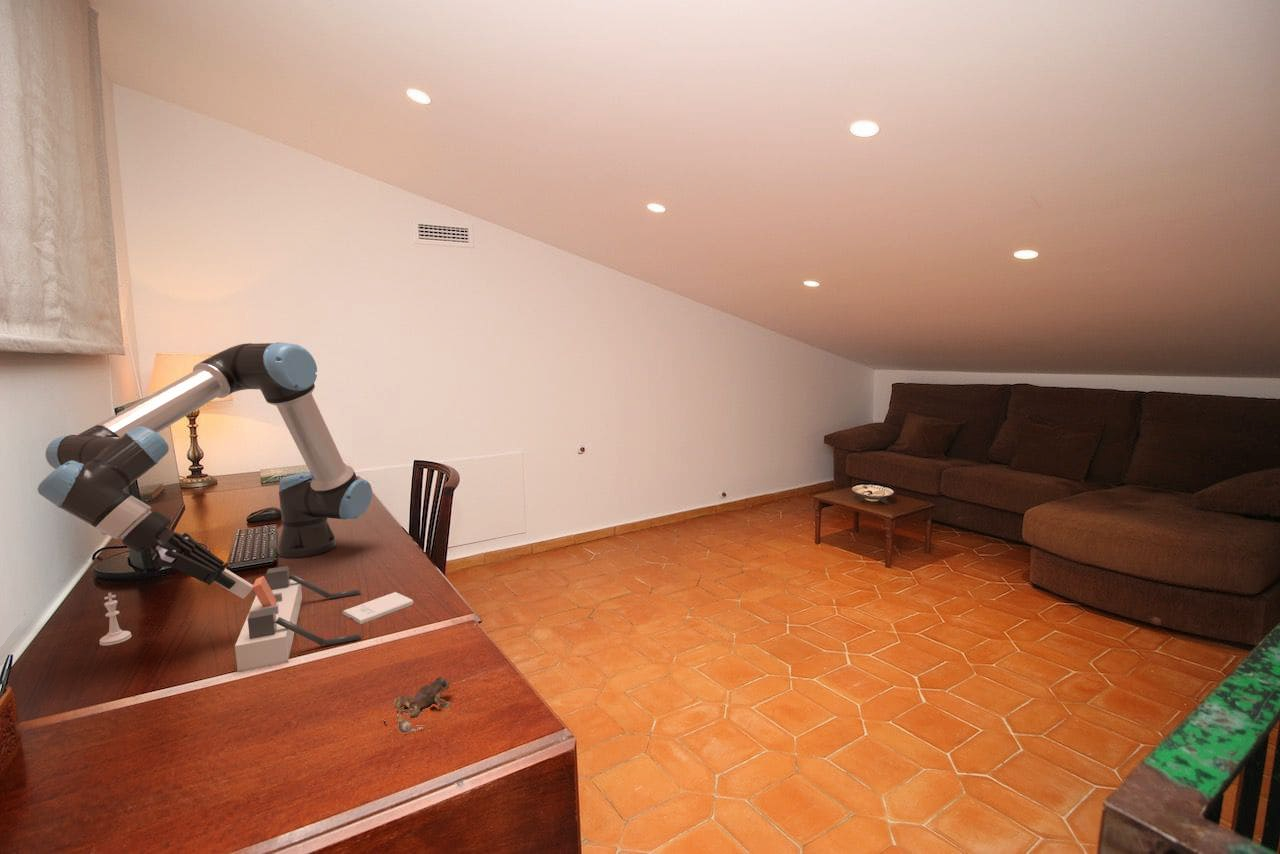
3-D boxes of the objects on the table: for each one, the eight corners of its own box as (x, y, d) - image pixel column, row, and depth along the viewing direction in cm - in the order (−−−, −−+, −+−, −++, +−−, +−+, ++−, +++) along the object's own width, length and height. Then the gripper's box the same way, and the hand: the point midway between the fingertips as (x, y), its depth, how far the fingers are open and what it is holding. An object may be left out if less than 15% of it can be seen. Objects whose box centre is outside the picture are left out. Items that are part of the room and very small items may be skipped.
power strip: (237, 671, 107) (232, 625, 105) (262, 604, 135) (259, 567, 134) (361, 646, 115) (358, 603, 114) (360, 588, 144) (358, 553, 143)
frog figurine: (432, 682, 103) (431, 662, 103) (471, 708, 96) (471, 687, 95) (368, 713, 95) (367, 691, 94) (406, 744, 87) (404, 720, 87)
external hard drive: (413, 606, 135) (360, 626, 125) (395, 597, 140) (342, 616, 130) (413, 600, 135) (360, 619, 125) (394, 591, 140) (342, 609, 130)
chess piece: (98, 640, 119) (91, 593, 118) (129, 631, 122) (124, 586, 121) (100, 648, 116) (94, 600, 114) (133, 639, 119) (127, 592, 118)
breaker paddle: (265, 612, 119) (252, 587, 118) (268, 603, 124) (256, 579, 122) (273, 608, 120) (260, 584, 118) (276, 599, 124) (263, 575, 123)
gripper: (132, 531, 115) (240, 595, 125) (106, 551, 104) (228, 620, 113) (162, 501, 117) (267, 567, 126) (141, 518, 105) (258, 589, 115)
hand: (248, 592), depth 120 cm, fingers closed
